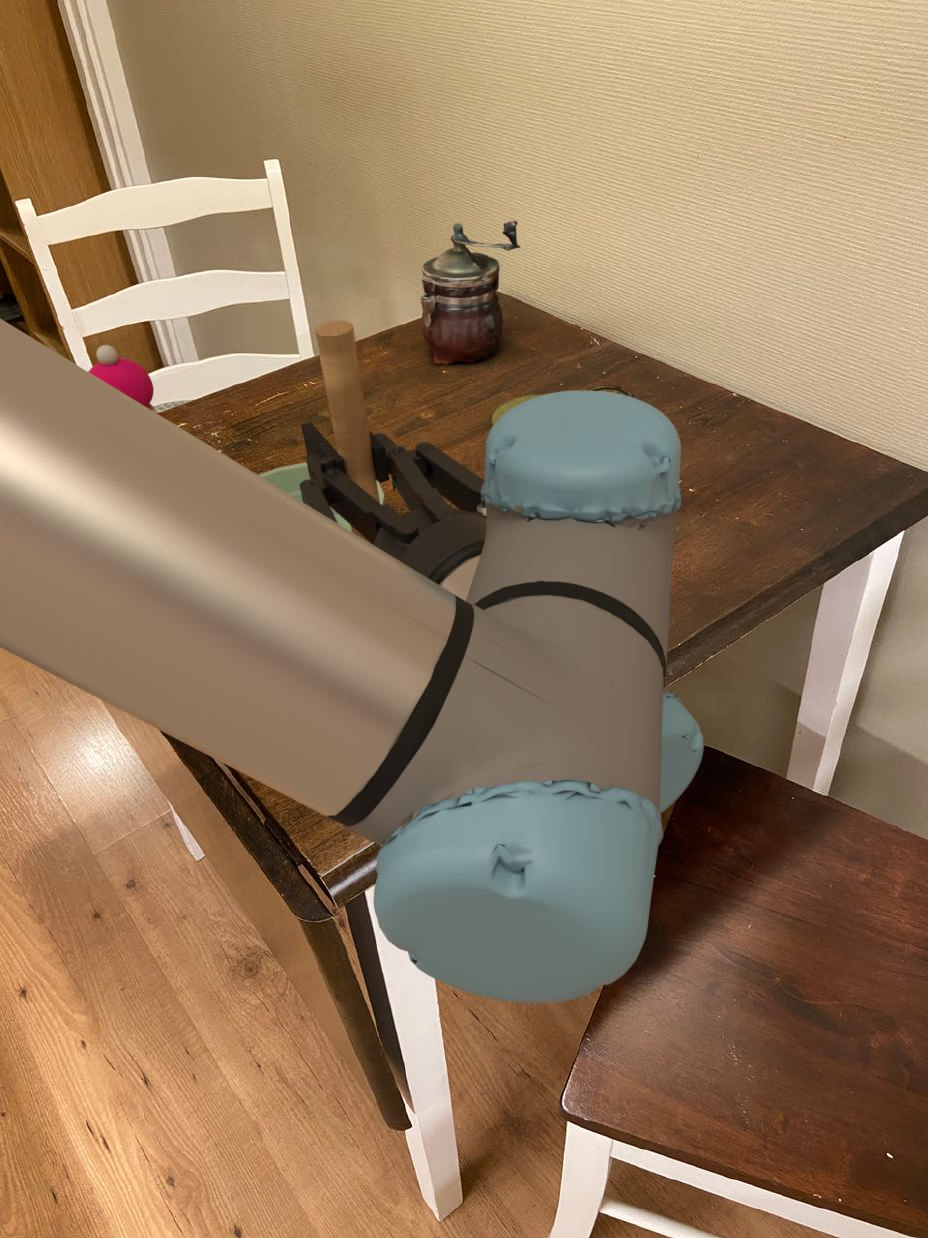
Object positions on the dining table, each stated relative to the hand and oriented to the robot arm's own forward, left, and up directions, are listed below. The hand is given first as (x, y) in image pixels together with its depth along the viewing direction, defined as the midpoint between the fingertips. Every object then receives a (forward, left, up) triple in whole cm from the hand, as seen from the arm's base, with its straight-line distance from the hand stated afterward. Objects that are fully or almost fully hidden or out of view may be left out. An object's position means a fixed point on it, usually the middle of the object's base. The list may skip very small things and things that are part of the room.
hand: (328, 434), depth 66 cm
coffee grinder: (+9, +55, -19) cm, 59 cm away
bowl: (-6, +10, -19) cm, 22 cm away
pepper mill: (-22, +15, -19) cm, 33 cm away
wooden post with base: (+3, -5, -12) cm, 13 cm away
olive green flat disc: (+17, +33, -19) cm, 42 cm away
